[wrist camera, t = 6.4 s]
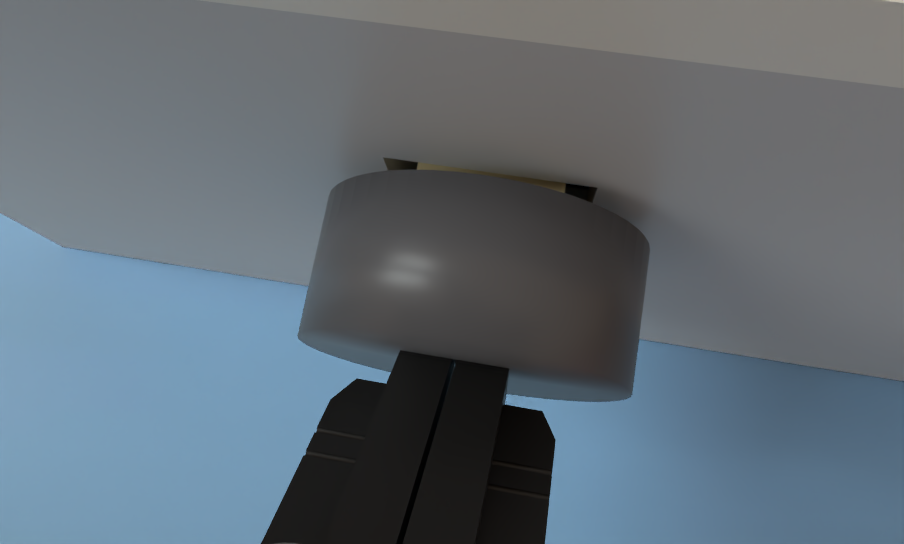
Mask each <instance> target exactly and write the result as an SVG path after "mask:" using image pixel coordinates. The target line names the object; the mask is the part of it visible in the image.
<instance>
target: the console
mask: <svg viewBox="0 0 904 544" xmlns="http://www.w3.org/2000/svg"><path fill="white" fill-rule="evenodd" d="M418 162H420V163H427V164H434V165H441V166H448V167H455V168H462V169H469V170H476V171H483V172H490V173H497V174H504V175H512V176H519V177H526V178H533V179H540V180H547V181H554V182H561V183H568V184H575V185H582V186H589V190H588V189H581V188H573V187H566V186H565V194H569V195H572V196H575V197H578V198H580V199H583V200H586V201H588V202H591V203H593V204H596V205H598V206H600V207H602V208H605V209H607V210H609V211H611V212H613V213H615V214H617V215H618V216H620V217H622V218H624V219H625V220H627V221H628V222H630V223H631V224H632V225H634V226H635V227H636V228H638V229H639V230H640V231H641V232H642V233H643V234H644V236H645V237H646V239H647V240H648V242H649V246H650V255H649V263H648V271H647V279H646V287H645V295H644V303H643V311H642V319H641V327H640V335H639V339H642V340H648V341H654V342H661V343H667V344H673V345H679V346H686V347H692V348H698V349H704V350H711V351H717V352H723V353H729V354H736V355H742V356H748V357H754V358H761V359H767V360H773V361H779V362H786V363H792V364H798V365H804V366H811V367H817V368H823V369H829V370H836V371H842V372H848V373H854V374H861V375H867V376H873V377H879V378H886V379H892V380H898V381H904V0H0V213H1V214H3V215H5V216H7V217H9V218H10V219H12V220H14V221H16V222H18V223H20V224H21V225H23V226H25V227H27V228H29V229H31V230H32V231H34V232H36V233H38V234H40V235H42V236H43V237H45V238H47V239H49V240H51V241H53V242H55V243H56V244H58V245H60V246H62V247H67V248H73V249H79V250H86V251H92V252H98V253H104V254H111V255H117V256H123V257H129V258H136V259H142V260H148V261H154V262H161V263H167V264H173V265H179V266H186V267H192V268H198V269H204V270H211V271H217V272H223V273H229V274H236V275H242V276H248V277H254V278H261V279H267V280H273V281H279V282H286V283H292V284H298V285H304V286H309V282H310V278H311V273H312V269H313V264H314V260H315V255H316V251H317V246H318V242H319V237H320V233H321V228H322V224H323V219H324V215H325V210H326V206H327V201H328V197H329V194H330V192H331V190H332V189H333V188H334V187H335V186H336V185H337V184H339V183H341V182H342V181H344V180H346V179H349V178H352V177H355V176H358V175H363V174H367V173H372V172H381V171H389V170H417V166H418Z"/></svg>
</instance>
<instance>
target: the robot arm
mask: <svg viewBox="0 0 904 544" xmlns="http://www.w3.org/2000/svg"><path fill="white" fill-rule="evenodd" d="M508 378H509V368H503V367H497V366H491V365H485V364H479V363H473V362H468V361H462V360H457V361H456V363H455V367H454V362H453V360H452V359H449V358H444V357H438V356H432V355H426V354H420V353H414V352H408V351H402V350H400V352H399V354H398V356H397V359H396V361H395V364H394V366H393V369H392V371H391V374H390V376H389V379H388V381H387V384H384V383H379V382H373V381H367V380H362V379H356V380H354V381H353V382H352V383H351V384H349V385H348V386H347V387H346V388H344V389H343V390H342V391H341V392H339V393H338V394H337V395H336V396H334V397H333V398H332V399H331V400H330V402H329V404H328V406H327V408H326V410H325V412H324V414H323V416H322V418H321V420H320V422H319V425H318V427H317V432H316V433H314V435H313V437H312V439H311V441H310V443H309V445H308V447H307V449H306V455H305V456H303V458H302V460H301V462H300V464H299V466H298V468H297V470H296V472H295V474H294V476H293V479H292V481H291V483H290V485H289V487H288V489H287V491H286V493H285V495H284V497H283V499H282V501H281V503H280V506H279V508H278V510H277V512H276V514H275V516H274V518H273V520H272V522H271V524H270V526H269V528H268V530H267V533H266V535H265V537H264V539H263V541H262V542H261V544H545V535H546V526H547V516H548V507H549V496H550V487H551V478H552V476H551V475H552V468H553V458H554V449H555V438H554V436H553V434H552V431H551V429H550V427H549V425H548V423H547V420H546V418H545V416H544V414H543V412H542V411H538V410H532V409H527V408H521V407H515V406H510V405H505V399H506V392H507V385H508Z"/></svg>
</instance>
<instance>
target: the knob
mask: <svg viewBox="0 0 904 544" xmlns="http://www.w3.org/2000/svg"><path fill="white" fill-rule="evenodd" d="M565 186H566V183H561V182H554V181H547V180H540V179H533V178H526V177H519V176H512V175H504V174H497V173H490V172H483V171H476V170H469V169H462V168H455V167H448V166H441V165H434V164H427V163H420V162H418V166H417V170H389V171H381V172H372V173H367V174H363V175H358V176H355V177H352V178H349V179H346V180H344V181H342V182H341V183H339V184H337V185H336V186H335V187H334V188H333V189H332V190H331V192H330V194H329V197H328V201H327V206H326V210H325V215H324V219H323V224H322V228H321V233H320V237H319V242H318V246H317V251H316V255H315V260H314V264H313V269H312V273H311V278H310V282H309V287H308V291H307V296H306V300H305V305H304V309H303V314H302V318H301V323H300V327H299V332H298V338H299V340H301V341H302V342H303V343H305V344H306V345H308V346H310V347H312V348H314V349H316V350H319V351H321V352H324V353H326V354H329V355H332V356H335V357H338V358H341V359H344V360H347V361H351V362H354V363H357V364H361V365H365V366H368V367H372V368H376V369H380V370H384V371H388V372H391V371H392V369H393V366H394V364H395V361H396V359H397V356H398V354H399V352H400V350H402V351H408V352H414V353H420V354H426V355H432V356H438V357H444V358H449V359H452V360H453V362H454V367H455V363H456V361H457V360H462V361H468V362H473V363H479V364H485V365H491V366H497V367H503V368H509V378H508V385H507V392H506V394H511V395H518V396H526V397H535V398H544V399H554V400H567V401H584V402H610V401H620V400H624V399H627V398H630V397H631V395H632V391H633V383H634V375H635V367H636V359H637V351H638V343H639V335H640V327H641V319H642V311H643V303H644V295H645V287H646V279H647V271H648V263H649V255H650V246H649V242H648V240H647V239H646V237H645V236H644V234H643V233H642V232H641V231H640V230H639V229H638V228H636V227H635V226H634V225H632V224H631V223H630V222H628V221H627V220H625V219H624V218H622V217H620V216H618V215H617V214H615V213H613V212H611V211H609V210H607V209H605V208H602V207H600V206H598V205H596V204H593V203H591V202H588V201H586V200H583V199H580V198H578V197H575V196H572V195H569V194H565Z"/></svg>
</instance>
